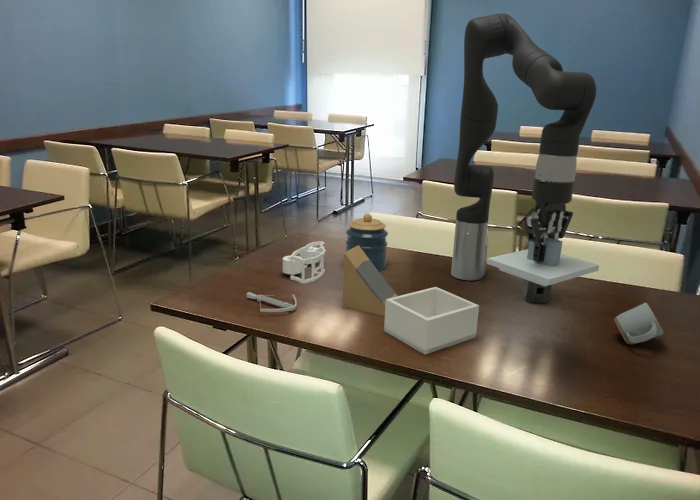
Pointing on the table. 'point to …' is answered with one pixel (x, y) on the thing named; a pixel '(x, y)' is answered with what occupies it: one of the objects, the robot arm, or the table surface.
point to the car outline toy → (305, 262)
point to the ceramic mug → (638, 324)
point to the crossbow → (263, 297)
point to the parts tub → (431, 319)
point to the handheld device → (535, 290)
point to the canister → (369, 239)
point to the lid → (543, 264)
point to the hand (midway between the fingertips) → (542, 259)
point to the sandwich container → (364, 284)
